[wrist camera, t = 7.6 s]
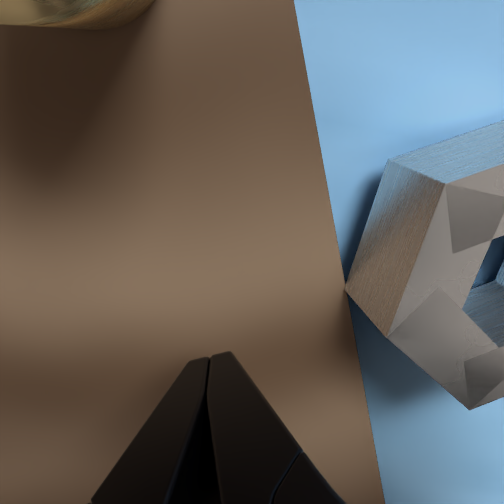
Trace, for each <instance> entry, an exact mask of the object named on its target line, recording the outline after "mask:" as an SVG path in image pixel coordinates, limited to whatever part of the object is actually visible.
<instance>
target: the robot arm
mask: <svg viewBox="0 0 504 504" xmlns="http://www.w3.org/2000/svg"><path fill="white" fill-rule="evenodd" d="M87 504H346V502H345V501H344V500H343V499H342V498H341V497H340V496H339V495H338V494H337V493H336V492H335V491H334V489H333V488H332V487H331V486H330V484H329V483H328V482H327V481H326V479H325V478H324V477H323V476H322V474H321V473H320V472H319V471H318V469H317V468H316V467H315V465H314V464H313V463H312V461H311V460H310V458H309V457H308V456H307V454H306V453H305V452H304V451H303V449H302V448H301V446H300V445H299V444H298V442H297V441H296V440H295V438H294V437H293V435H292V434H291V433H290V431H289V430H288V428H287V427H286V426H285V424H284V423H283V422H282V420H281V419H280V417H279V416H278V415H277V413H276V412H275V411H274V409H273V408H272V406H271V405H270V404H269V402H268V401H267V399H266V398H265V397H264V395H263V394H262V393H261V391H260V390H259V388H258V387H257V386H256V384H255V383H254V381H253V380H252V379H251V377H250V376H249V375H248V373H247V372H246V370H245V369H244V368H243V366H242V365H241V364H240V362H239V361H238V359H237V358H236V357H235V355H234V354H233V353H232V352H231V351H226V352H222V353H218V354H214V355H212V356H211V358H209V357H208V356H206V357H202V358H198V359H193V360H190V361H188V362H187V364H186V365H185V366H184V368H183V369H182V371H181V372H180V374H179V375H178V376H177V378H176V379H175V381H174V382H173V383H172V385H171V386H170V388H169V389H168V390H167V392H166V393H165V395H164V396H163V398H162V399H161V400H160V402H159V403H158V405H157V406H156V407H155V409H154V410H153V412H152V413H151V414H150V416H149V417H148V419H147V420H146V422H145V423H144V424H143V426H142V427H141V429H140V430H139V431H138V433H137V434H136V436H135V437H134V438H133V440H132V441H131V443H130V444H129V446H128V447H127V448H126V450H125V451H124V453H123V454H122V455H121V457H120V458H119V460H118V461H117V462H116V464H115V465H114V467H113V468H112V469H111V471H110V472H109V474H108V475H107V477H106V478H105V479H104V481H103V482H102V484H101V485H100V486H99V488H98V489H97V491H96V492H95V493H94V495H93V496H92V498H91V503H87Z"/></svg>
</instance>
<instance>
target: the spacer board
mask: <svg viewBox="0 0 504 504" xmlns="http://www.w3.org/2000/svg"><path fill="white" fill-rule="evenodd" d="M344 288H345V280H344V275H343V269H342V264H341V258H340V253H339V247H338V242H337V236H336V231H335V225H334V220H333V214H332V209H331V203H330V198H329V192H328V187H327V181H326V176H325V170H324V165H323V159H322V154H321V148H320V143H319V137H318V132H317V126H316V121H315V115H314V110H313V104H312V99H311V93H310V88H309V82H308V77H307V71H306V66H305V60H304V55H303V49H302V44H301V38H300V33H299V27H298V22H297V16H296V11H295V5H294V0H155V1H154V2H153V3H152V5H151V6H150V7H149V8H148V9H147V10H146V11H145V12H144V13H143V14H141V15H140V16H139V17H137V18H136V19H135V20H133V21H131V22H129V23H127V24H125V25H122V26H119V27H116V28H111V29H104V30H91V29H73V28H55V27H38V26H20V25H3V24H0V504H87V503H91V498H92V496H93V495H94V493H95V492H96V491H97V489H98V488H99V486H100V485H101V484H102V482H103V481H104V479H105V478H106V477H107V475H108V474H109V472H110V471H111V469H112V468H113V467H114V465H115V464H116V462H117V461H118V460H119V458H120V457H121V455H122V454H123V453H124V451H125V450H126V448H127V447H128V446H129V444H130V443H131V441H132V440H133V438H134V437H135V436H136V434H137V433H138V431H139V430H140V429H141V427H142V426H143V424H144V423H145V422H146V420H147V419H148V417H149V416H150V414H151V413H152V412H153V410H154V409H155V407H156V406H157V405H158V403H159V402H160V400H161V399H162V398H163V396H164V395H165V393H166V392H167V390H168V389H169V388H170V386H171V385H172V383H173V382H174V381H175V379H176V378H177V376H178V375H179V374H180V372H181V371H182V369H183V368H184V366H185V365H186V364H187V362H188V361H190V360H193V359H198V358H202V357H206V356H208V357H209V358H211V356H212V355H214V354H218V353H222V352H226V351H231V352H232V353H233V354H234V355H235V357H236V358H237V359H238V361H239V362H240V364H241V365H242V366H243V368H244V369H245V370H246V372H247V373H248V375H249V376H250V377H251V379H252V380H253V381H254V383H255V384H256V386H257V387H258V388H259V390H260V391H261V393H262V394H263V395H264V397H265V398H266V399H267V401H268V402H269V404H270V405H271V406H272V408H273V409H274V411H275V412H276V413H277V415H278V416H279V417H280V419H281V420H282V422H283V423H284V424H285V426H286V427H287V428H288V430H289V431H290V433H291V434H292V435H293V437H294V438H295V440H296V441H297V442H298V444H299V445H300V446H301V448H302V449H303V451H304V452H305V453H306V454H307V456H308V457H309V458H310V460H311V461H312V463H313V464H314V465H315V467H316V468H317V469H318V471H319V472H320V473H321V474H322V476H323V477H324V478H325V479H326V481H327V482H328V483H329V484H330V486H331V487H332V488H333V489H334V491H335V492H336V493H337V494H338V495H339V496H340V497H341V498H342V499H343V500H344V501H345V502H346V504H385V500H384V495H383V489H382V484H381V478H380V473H379V467H378V462H377V456H376V451H375V445H374V440H373V434H372V429H371V423H370V418H369V412H368V407H367V401H366V396H365V390H364V385H363V379H362V374H361V368H360V363H359V357H358V352H357V346H356V341H355V335H354V330H353V324H352V319H351V313H350V308H349V302H348V297H347V292H346V291H345V290H344Z"/></svg>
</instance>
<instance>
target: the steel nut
mask: <svg viewBox="0 0 504 504" xmlns="http://www.w3.org/2000/svg"><path fill="white" fill-rule="evenodd" d="M501 236H504V120H502V121H499V122H496V123H493V124H490V125H487V126H484V127H482V128H479V129H476V130H473V131H470V132H467V133H464V134H461V135H458V136H455V137H452V138H449V139H446V140H443V141H440V142H438V143H435V144H432V145H429V146H426V147H423V148H420V149H417V150H414V151H411V152H408V153H405V154H402V155H399V156H397V157H394V158H391V159H388V160H387V163H386V166H385V169H384V172H383V175H382V178H381V181H380V184H379V187H378V190H377V193H376V196H375V199H374V202H373V205H372V208H371V211H370V214H369V217H368V220H367V223H366V226H365V229H364V231H363V234H362V237H361V240H360V243H359V246H358V249H357V252H356V255H355V258H354V261H353V264H352V267H351V270H350V273H349V276H348V279H347V282H346V285H345V288H344V290H345V291H346V292H347V293H348V294H349V295H350V297H351V298H352V299H353V300H354V301H355V302H356V303H357V305H358V306H359V307H360V308H361V309H362V310H363V312H364V313H365V314H366V315H367V316H368V317H369V319H370V320H371V321H372V322H373V323H374V324H375V325H376V327H377V328H378V329H379V330H380V331H381V332H382V334H383V335H384V336H385V337H386V338H387V339H389V340H390V341H391V342H392V343H393V344H394V345H395V346H397V347H398V348H399V349H400V350H401V351H402V352H403V353H405V354H406V355H407V356H408V357H409V358H410V359H411V360H413V361H414V362H415V363H416V364H417V365H418V366H419V367H421V368H422V369H423V370H424V371H425V372H426V373H427V374H429V375H430V376H431V377H432V378H433V379H434V380H435V381H437V382H438V383H439V384H440V385H441V386H442V387H443V388H445V389H446V390H447V391H448V392H449V393H450V394H451V395H453V396H454V397H455V398H456V399H457V400H458V401H459V402H461V403H462V404H463V405H464V406H465V407H466V408H467V409H468V410H471V409H474V408H477V407H479V406H482V405H484V404H487V403H489V402H492V401H494V400H497V399H499V398H502V397H504V261H503V263H502V265H501V267H500V269H499V272H498V274H497V276H496V278H495V280H494V281H492V282H489V283H486V284H484V285H481V286H478V287H475V288H473V289H471V287H472V285H473V283H474V280H475V278H476V276H477V273H478V271H479V269H480V266H481V264H482V262H483V260H484V257H485V255H486V253H487V250H488V248H489V246H490V243H491V241H492V240H493V239H495V238H498V237H501Z"/></svg>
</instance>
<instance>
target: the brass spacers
mask: <svg viewBox="0 0 504 504" xmlns="http://www.w3.org/2000/svg"><path fill="white" fill-rule="evenodd" d="M154 1H155V0H0V24H3V25H20V26H38V27H55V28H73V29H91V30H104V29H111V28H116V27H119V26H122V25H125V24H127V23H129V22H131V21H133V20H135V19H136V18H137V17H139V16H140V15H141V14H143V13H144V12H145V11H146V10H147V9H148V8H149V7H150V6H151V5H152V3H153V2H154Z"/></svg>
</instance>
